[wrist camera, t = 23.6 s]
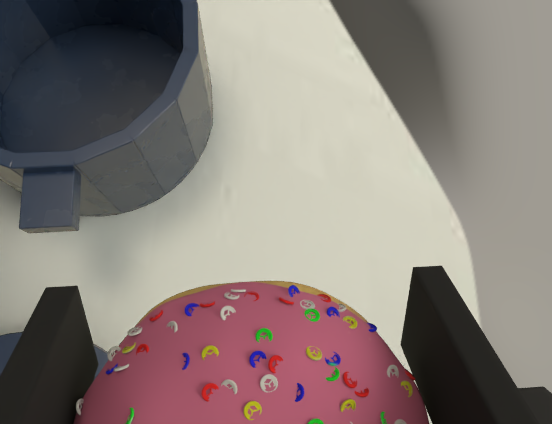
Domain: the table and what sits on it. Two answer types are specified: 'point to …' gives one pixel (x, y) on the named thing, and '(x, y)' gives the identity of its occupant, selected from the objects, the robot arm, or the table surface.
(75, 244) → the table surface
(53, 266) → the table surface
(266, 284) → the cupcake
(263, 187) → the table surface
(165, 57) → the pot
